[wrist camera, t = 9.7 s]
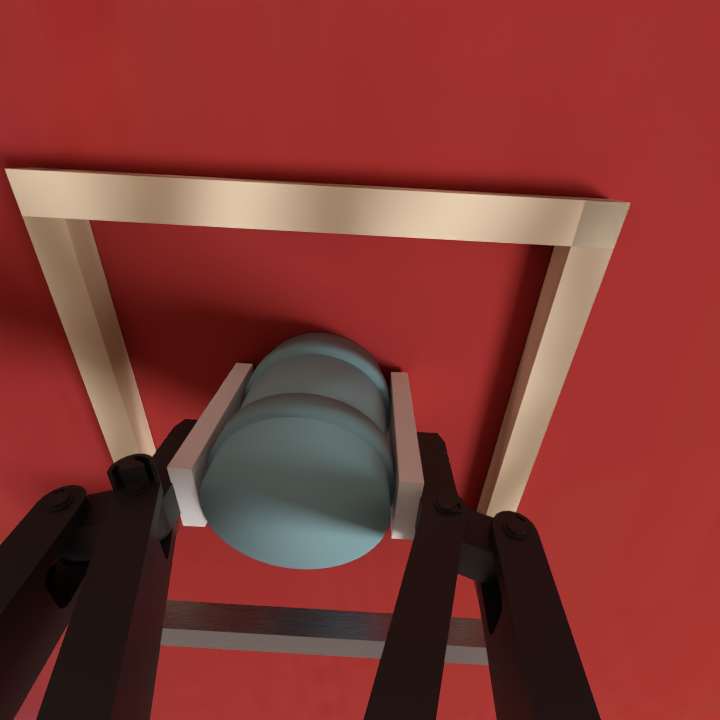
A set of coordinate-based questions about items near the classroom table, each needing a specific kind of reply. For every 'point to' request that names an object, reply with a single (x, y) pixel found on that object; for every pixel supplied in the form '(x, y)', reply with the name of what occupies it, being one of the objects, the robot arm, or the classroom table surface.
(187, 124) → the classroom table surface
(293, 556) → the grooved blue cylinder
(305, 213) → the shelf frame
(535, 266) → the classroom table surface
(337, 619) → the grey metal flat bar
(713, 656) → the classroom table surface
